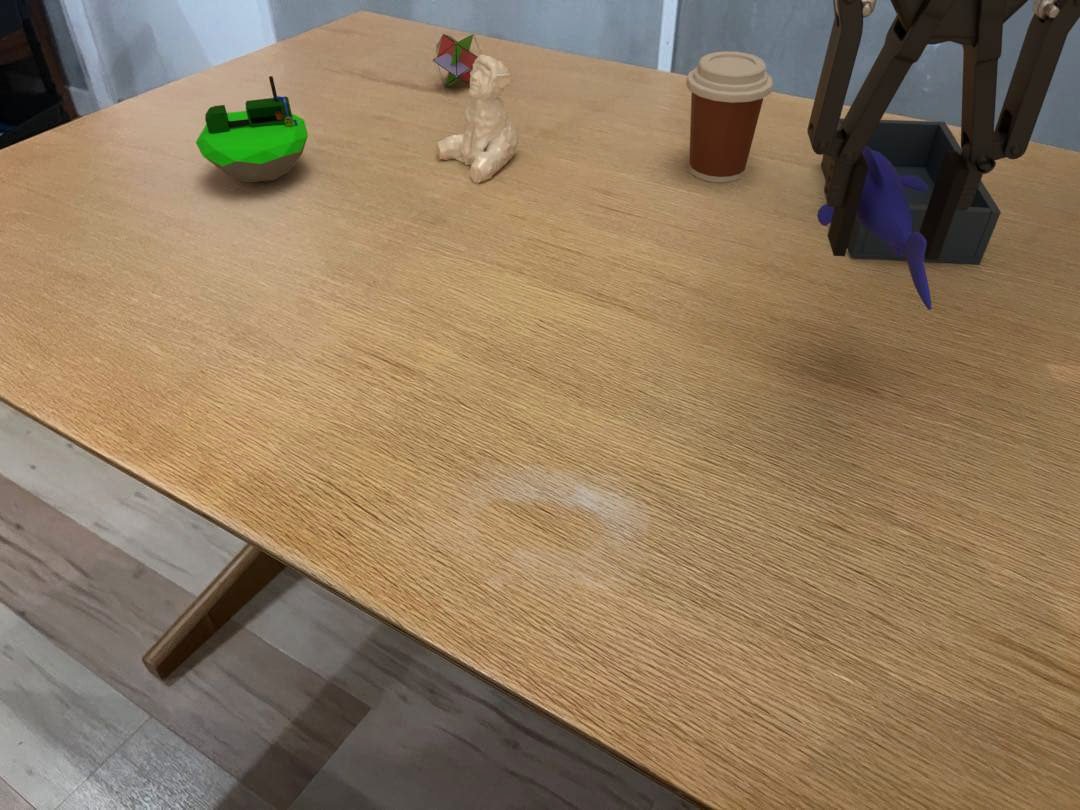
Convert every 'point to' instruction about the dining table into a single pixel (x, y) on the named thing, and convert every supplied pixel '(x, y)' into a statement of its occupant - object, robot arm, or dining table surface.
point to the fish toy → (890, 215)
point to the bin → (925, 192)
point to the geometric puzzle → (455, 58)
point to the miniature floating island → (254, 139)
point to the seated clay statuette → (484, 123)
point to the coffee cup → (725, 113)
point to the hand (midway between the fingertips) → (881, 246)
